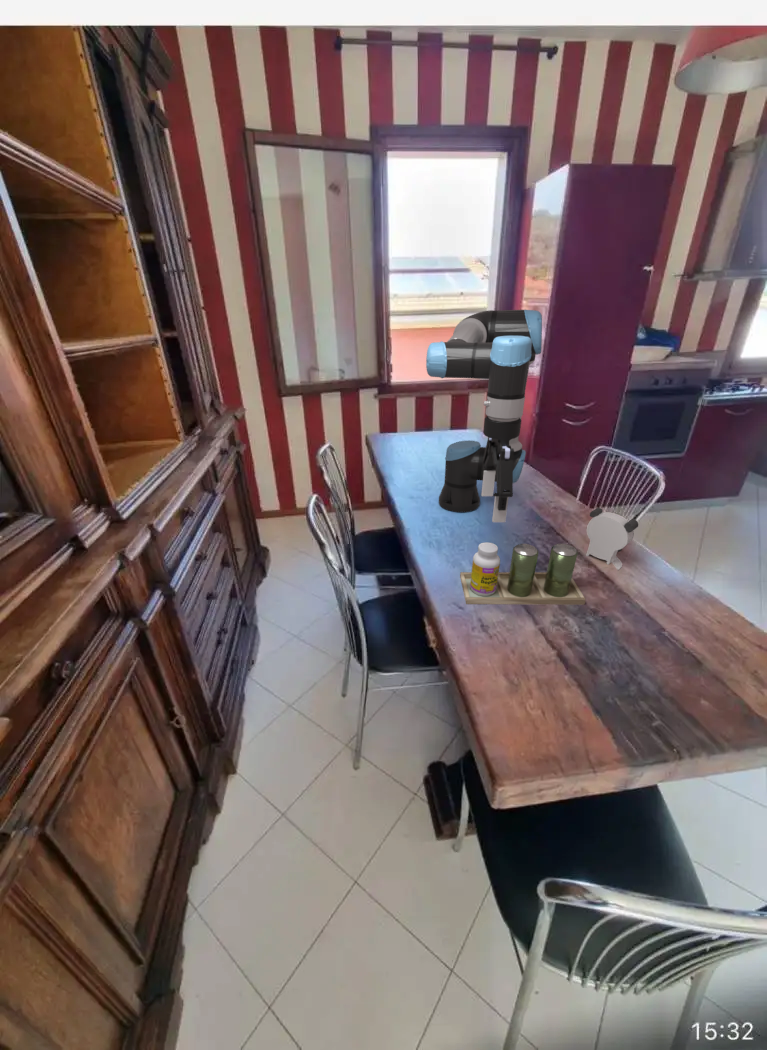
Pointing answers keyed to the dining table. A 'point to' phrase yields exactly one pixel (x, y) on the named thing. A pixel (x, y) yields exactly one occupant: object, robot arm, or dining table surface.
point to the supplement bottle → (485, 569)
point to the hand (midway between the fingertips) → (492, 507)
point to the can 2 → (560, 570)
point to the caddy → (534, 598)
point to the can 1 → (522, 570)
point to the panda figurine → (609, 535)
